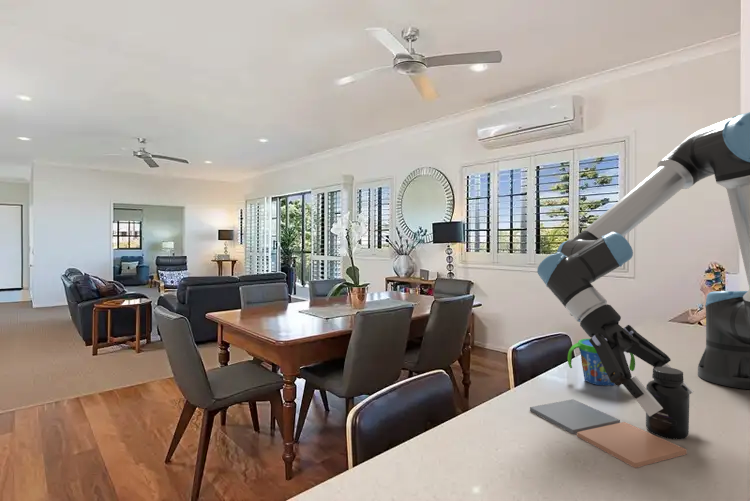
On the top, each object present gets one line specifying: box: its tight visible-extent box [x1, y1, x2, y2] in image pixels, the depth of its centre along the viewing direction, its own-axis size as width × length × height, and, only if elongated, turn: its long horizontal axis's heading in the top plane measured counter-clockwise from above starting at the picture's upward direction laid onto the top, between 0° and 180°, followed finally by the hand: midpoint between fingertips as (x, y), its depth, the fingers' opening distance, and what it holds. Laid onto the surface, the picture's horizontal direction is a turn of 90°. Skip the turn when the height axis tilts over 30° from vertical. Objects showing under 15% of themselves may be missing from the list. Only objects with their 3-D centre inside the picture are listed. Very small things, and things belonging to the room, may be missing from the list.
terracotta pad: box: [576, 421, 688, 469], centre depth 77 cm, size 12×12×1 cm
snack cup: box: [567, 338, 636, 387], centre depth 110 cm, size 16×10×10 cm
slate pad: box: [529, 398, 621, 435], centre depth 89 cm, size 12×12×1 cm
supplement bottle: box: [645, 366, 691, 440], centre depth 81 cm, size 7×7×12 cm
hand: (672, 404), depth 80 cm, fingers open, 13 cm apart
